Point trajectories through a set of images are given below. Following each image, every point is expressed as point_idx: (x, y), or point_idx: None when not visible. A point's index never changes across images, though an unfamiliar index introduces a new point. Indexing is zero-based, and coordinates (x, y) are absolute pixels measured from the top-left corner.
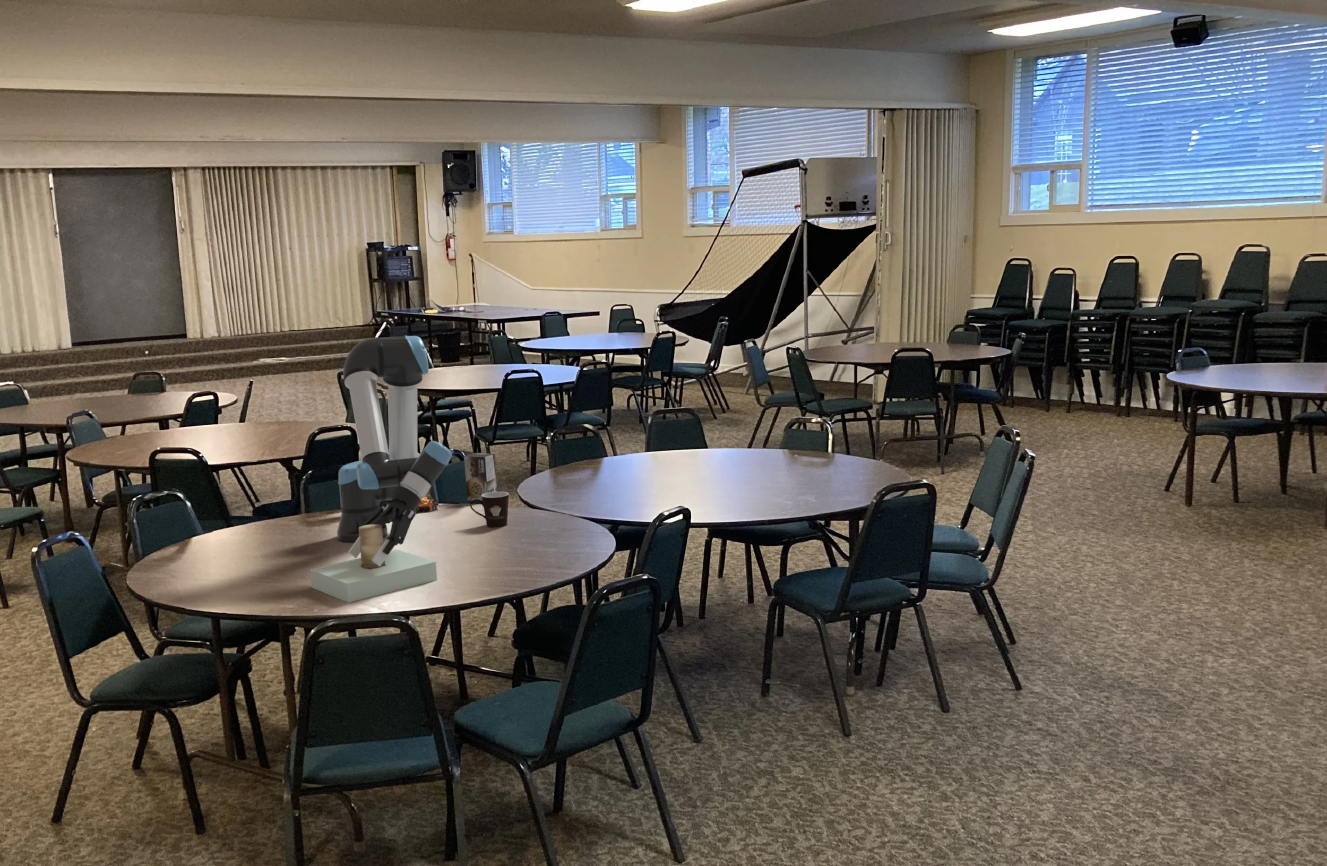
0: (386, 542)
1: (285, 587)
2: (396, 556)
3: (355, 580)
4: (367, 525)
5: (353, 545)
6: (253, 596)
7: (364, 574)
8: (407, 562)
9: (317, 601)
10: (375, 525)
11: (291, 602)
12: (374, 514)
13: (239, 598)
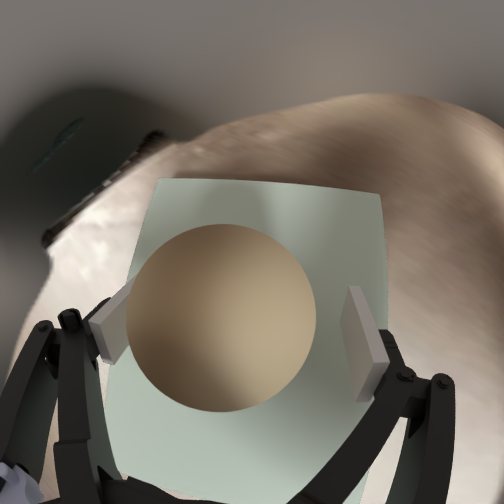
0: (96, 316)
1: (406, 194)
2: (278, 466)
3: (157, 203)
4: (289, 336)
5: (361, 305)
6: (384, 138)
7: None
8: (168, 432)
9: (247, 174)
10: (223, 376)
11: (289, 146)
12: (430, 489)
13: (387, 124)
